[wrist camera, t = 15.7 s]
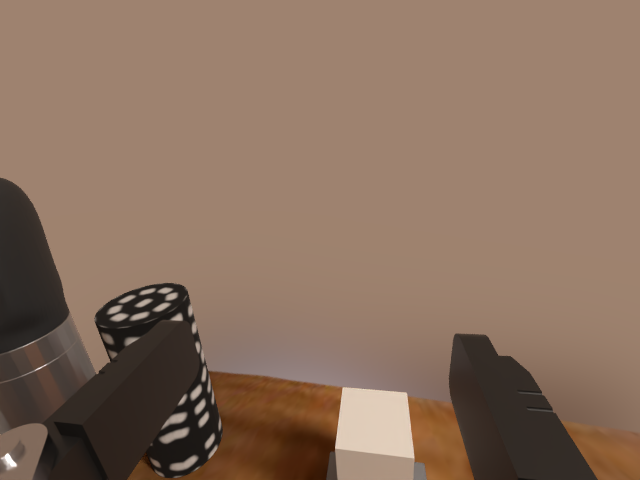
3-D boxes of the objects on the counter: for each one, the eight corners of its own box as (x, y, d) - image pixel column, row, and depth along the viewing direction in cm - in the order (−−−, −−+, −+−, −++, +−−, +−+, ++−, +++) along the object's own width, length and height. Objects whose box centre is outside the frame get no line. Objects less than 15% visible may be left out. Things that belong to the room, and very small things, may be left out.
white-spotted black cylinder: (188, 404, 42) (151, 279, 35) (236, 423, 39) (204, 288, 32) (134, 462, 35) (74, 318, 28) (186, 490, 32) (133, 336, 25)
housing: (341, 525, 27) (335, 448, 24) (347, 457, 32) (343, 387, 29) (410, 537, 26) (414, 458, 22) (404, 465, 31) (406, 392, 28)
